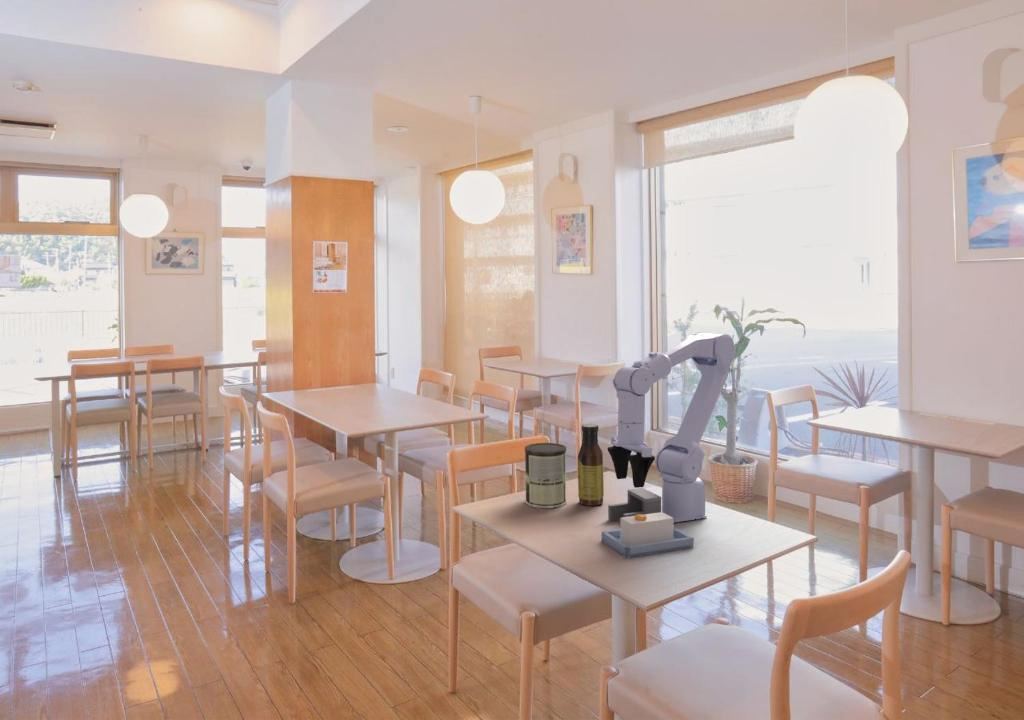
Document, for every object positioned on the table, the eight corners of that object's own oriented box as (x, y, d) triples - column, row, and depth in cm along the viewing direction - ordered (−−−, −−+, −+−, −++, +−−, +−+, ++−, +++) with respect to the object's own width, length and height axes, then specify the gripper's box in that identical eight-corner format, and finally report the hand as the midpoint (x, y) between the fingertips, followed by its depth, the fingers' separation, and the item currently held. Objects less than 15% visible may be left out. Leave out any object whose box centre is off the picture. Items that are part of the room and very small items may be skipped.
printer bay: (642, 515, 169) (642, 487, 168) (661, 525, 162) (661, 497, 161) (608, 519, 166) (608, 492, 165) (625, 530, 159) (625, 501, 158)
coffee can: (517, 501, 182) (516, 446, 180) (550, 494, 187) (550, 440, 186) (540, 511, 173) (540, 453, 172) (574, 504, 178) (574, 448, 177)
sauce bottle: (586, 498, 183) (586, 421, 181) (608, 502, 180) (608, 423, 178) (573, 504, 178) (572, 425, 176) (595, 508, 174) (595, 427, 172)
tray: (665, 531, 158) (665, 522, 158) (693, 547, 148) (693, 537, 148) (601, 540, 152) (601, 531, 152) (626, 558, 143) (626, 548, 142)
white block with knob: (661, 534, 154) (662, 509, 153) (673, 541, 150) (673, 515, 149) (620, 541, 150) (620, 514, 150) (630, 548, 146) (631, 521, 146)
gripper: (599, 417, 163) (598, 476, 164) (631, 428, 149) (630, 492, 151) (626, 415, 165) (625, 473, 167) (661, 426, 152) (659, 489, 153)
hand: (629, 482), depth 159 cm, fingers open, 7 cm apart
